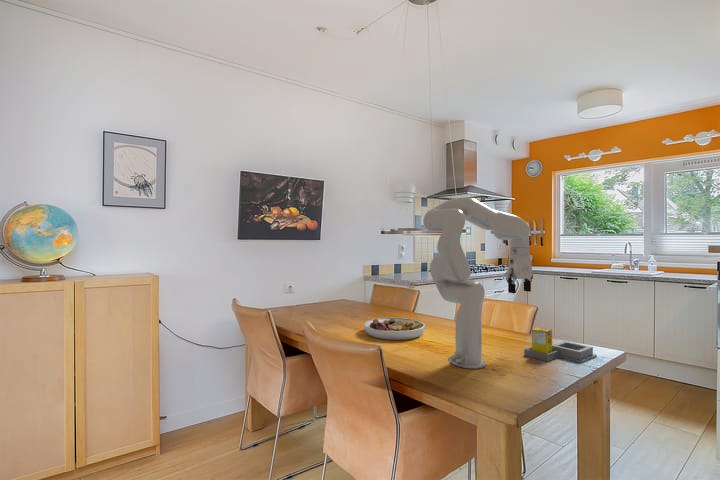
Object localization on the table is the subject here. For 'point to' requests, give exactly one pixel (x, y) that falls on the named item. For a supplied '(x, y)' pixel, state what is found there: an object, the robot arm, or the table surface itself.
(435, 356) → the table surface
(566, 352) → the block
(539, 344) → the supplement box
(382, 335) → the bowl
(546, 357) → the grey square tray
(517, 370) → the table surface
